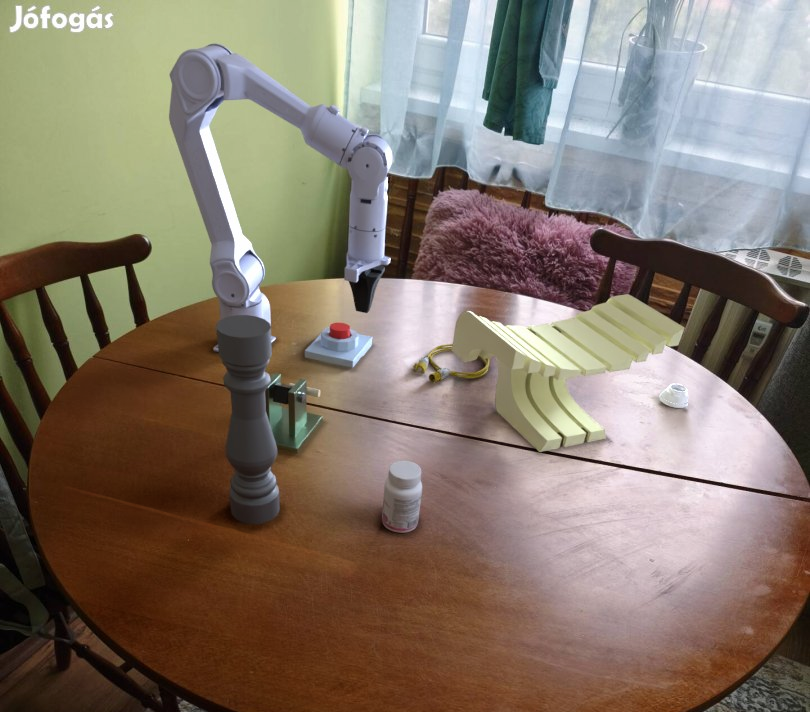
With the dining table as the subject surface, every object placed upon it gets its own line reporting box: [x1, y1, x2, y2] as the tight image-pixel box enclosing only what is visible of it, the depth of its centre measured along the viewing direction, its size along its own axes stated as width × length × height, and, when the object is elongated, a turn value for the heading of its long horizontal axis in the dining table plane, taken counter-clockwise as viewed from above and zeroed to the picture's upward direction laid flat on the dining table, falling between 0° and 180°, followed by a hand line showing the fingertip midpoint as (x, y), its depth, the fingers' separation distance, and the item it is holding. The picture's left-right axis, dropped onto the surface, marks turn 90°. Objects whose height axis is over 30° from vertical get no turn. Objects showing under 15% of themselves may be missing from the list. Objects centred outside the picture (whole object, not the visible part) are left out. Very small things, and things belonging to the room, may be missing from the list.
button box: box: [304, 326, 373, 369], centre depth 125 cm, size 11×9×4 cm
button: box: [329, 322, 351, 339], centre depth 123 cm, size 4×4×2 cm
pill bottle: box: [381, 460, 423, 534], centre depth 87 cm, size 5×5×8 cm
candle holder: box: [215, 315, 281, 525], centre depth 81 cm, size 6×6×25 cm
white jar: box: [658, 383, 690, 409], centre depth 122 cm, size 5×3×5 cm
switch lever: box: [273, 382, 321, 406], centre depth 103 cm, size 10×5×2 cm, turn 165°
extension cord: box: [413, 343, 490, 384], centre depth 125 cm, size 12×16×2 cm
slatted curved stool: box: [451, 294, 686, 453], centre depth 108 cm, size 30×16×18 cm, turn 115°
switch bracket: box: [265, 372, 324, 454], centre depth 101 cm, size 10×8×8 cm
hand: (362, 310), depth 117 cm, fingers closed
